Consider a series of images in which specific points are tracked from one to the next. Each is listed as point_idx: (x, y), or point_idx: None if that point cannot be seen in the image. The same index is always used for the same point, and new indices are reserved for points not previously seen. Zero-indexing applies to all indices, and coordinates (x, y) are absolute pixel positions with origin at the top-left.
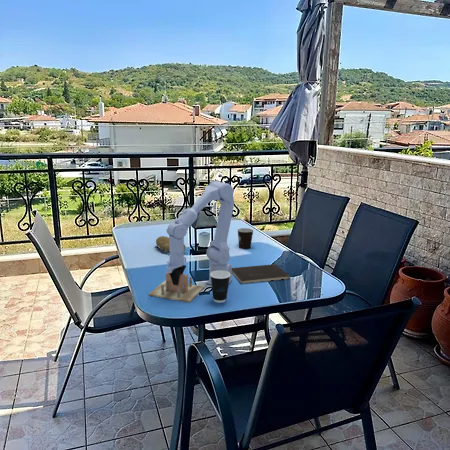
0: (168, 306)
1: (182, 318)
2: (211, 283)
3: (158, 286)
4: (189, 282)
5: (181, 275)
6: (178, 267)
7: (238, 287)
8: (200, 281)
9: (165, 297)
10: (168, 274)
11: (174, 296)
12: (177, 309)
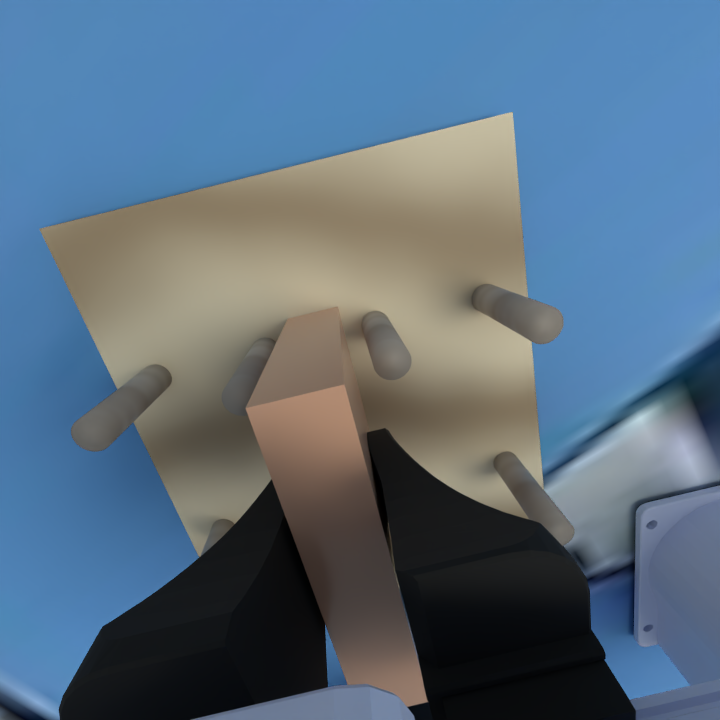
0: (58, 539)
1: (12, 703)
2: (643, 552)
3: (292, 175)
4: (513, 481)
5: (350, 658)
6: (435, 714)
7: (657, 685)
8: (673, 433)
9: (143, 431)
10: (266, 454)
11: (208, 495)
12: (80, 613)
